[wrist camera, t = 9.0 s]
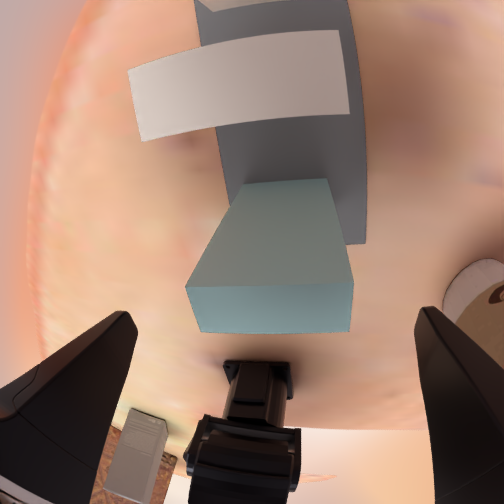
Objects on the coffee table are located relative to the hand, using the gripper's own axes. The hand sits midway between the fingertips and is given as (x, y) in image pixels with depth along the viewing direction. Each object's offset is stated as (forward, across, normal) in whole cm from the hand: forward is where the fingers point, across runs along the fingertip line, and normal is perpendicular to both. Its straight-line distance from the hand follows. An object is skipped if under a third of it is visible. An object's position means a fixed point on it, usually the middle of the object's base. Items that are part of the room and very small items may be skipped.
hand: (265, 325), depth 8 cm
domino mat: (+11, -1, -9) cm, 14 cm away
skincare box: (+11, +25, +37) cm, 46 cm away
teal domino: (+11, 0, 0) cm, 11 cm away
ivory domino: (+11, 0, -6) cm, 13 cm away
